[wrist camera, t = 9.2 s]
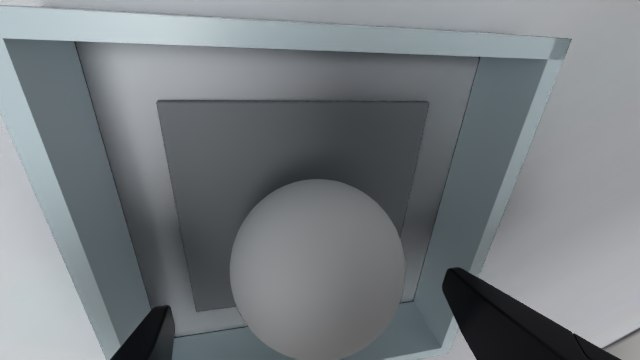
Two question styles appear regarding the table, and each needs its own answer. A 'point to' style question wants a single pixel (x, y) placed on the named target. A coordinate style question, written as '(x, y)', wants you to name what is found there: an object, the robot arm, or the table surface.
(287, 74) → the table surface
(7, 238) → the table surface
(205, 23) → the light blue tray
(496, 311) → the robot arm
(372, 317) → the ball
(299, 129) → the pad
